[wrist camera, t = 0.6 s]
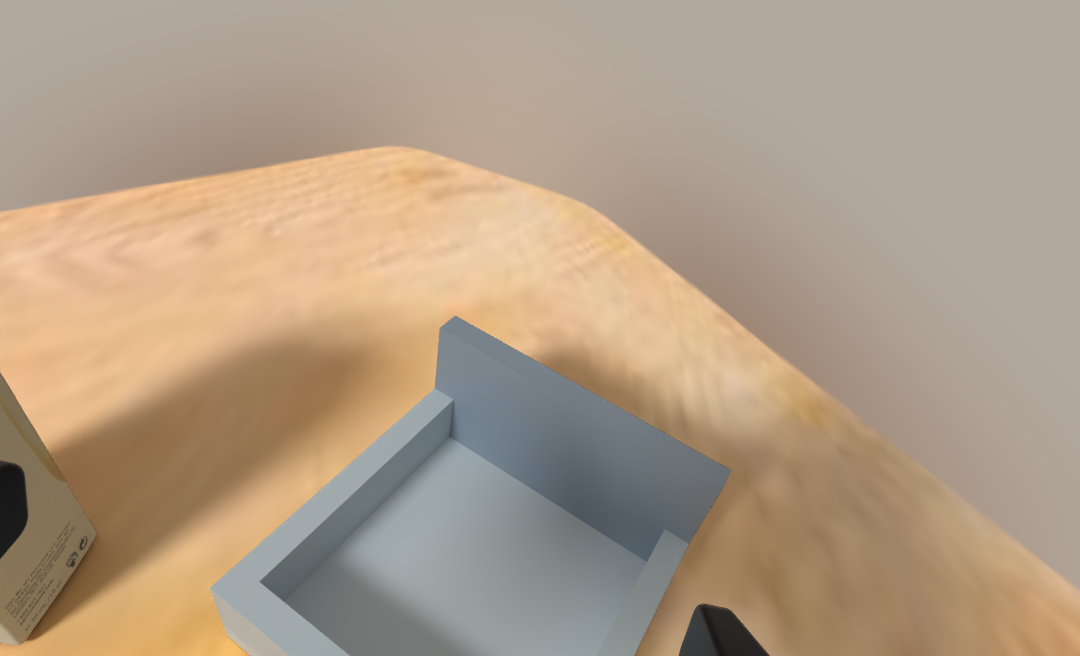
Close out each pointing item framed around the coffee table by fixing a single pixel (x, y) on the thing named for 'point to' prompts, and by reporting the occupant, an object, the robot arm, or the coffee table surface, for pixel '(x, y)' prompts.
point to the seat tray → (481, 526)
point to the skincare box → (37, 528)
